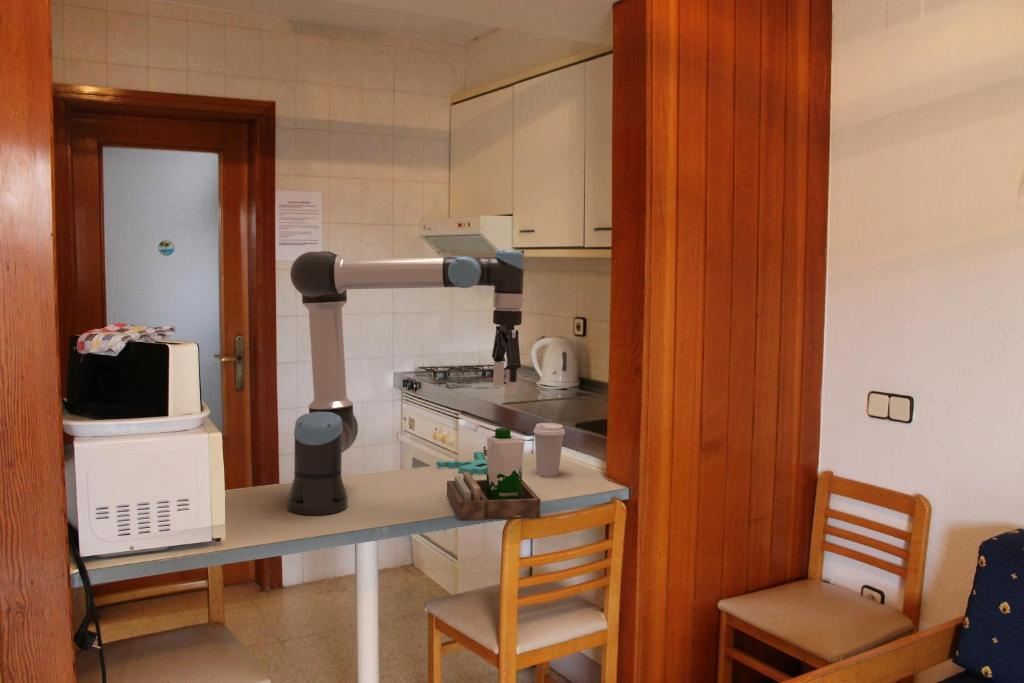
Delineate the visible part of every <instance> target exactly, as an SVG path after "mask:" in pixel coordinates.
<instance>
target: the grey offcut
mask: <svg viewBox="0 0 1024 683" xmlns="http://www.w3.org/2000/svg"><path fill="white" fill-rule="evenodd" d="M454 481H455V482H454V486H455V487H456V489H457V490H458V492H459V494H460V495H461V497H462V499H463V500H464V501H471V491H470V490H469V488H468V487H467V485H466V484H465V482H464V481H463V477H462V476H461V475H454Z"/></svg>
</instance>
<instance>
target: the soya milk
mask: <svg viewBox="0 0 1024 683" xmlns="http://www.w3.org/2000/svg"><path fill="white" fill-rule="evenodd" d="M494 431H495V432H494V435H492V436H487V437H486V438H487V439H486V446H487V448H486V449H487V450H486V453H487V456H486V457H487V458H486V460H487V474H486V478H485V480H486V497H487V499H488V500H506V499H521V485H522V480H523V458H524V457H523V456H524V455H523V454H524V448H525V447H524V446H525V440H524V441H523V440H522V439H521V438H520V437H518V436H515V435H511V432H512V431H511V429H510V428H505V427H499V428H495V430H494Z"/></svg>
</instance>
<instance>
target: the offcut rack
mask: <svg viewBox="0 0 1024 683" xmlns="http://www.w3.org/2000/svg"><path fill="white" fill-rule="evenodd" d="M474 480H475V481H476V482H477V484H478V485H479V487H480V488H481V489H480V500H475V501H464V500H463V499H462V497H461V495H460V494H459V492H458V490H457V489H456V487H455V486H454V482H455V480H446V498H447V497H448V499H449V500H448V499H447V500H448V502H449V501H450V502H449V504H450V503H451V504H450V506H451V505H452V506H451V508H452V507H453V508H452V510H453V511H454V512H455V515H456V516H457V518H458V520H459V521H471V520H472V521H473V520H496V519H497V520H500V519H503V520H505V519H511V518H510V517H512V516H514V515H519V516H521V517H522V518H521V519H524V518H525V519H526V518H529V519H531V518H541V507H542V506H541V503H542V502H541V501H542V500H541V498H540V497H539V496H538V495H537V494H536V492H534V491H533V489H531V487H530V486H529V485H528V484H527V483H526V482H525V481H524V480H523V479H522V485H521V499H506V500H488V499H487V497H486V479H474Z"/></svg>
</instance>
